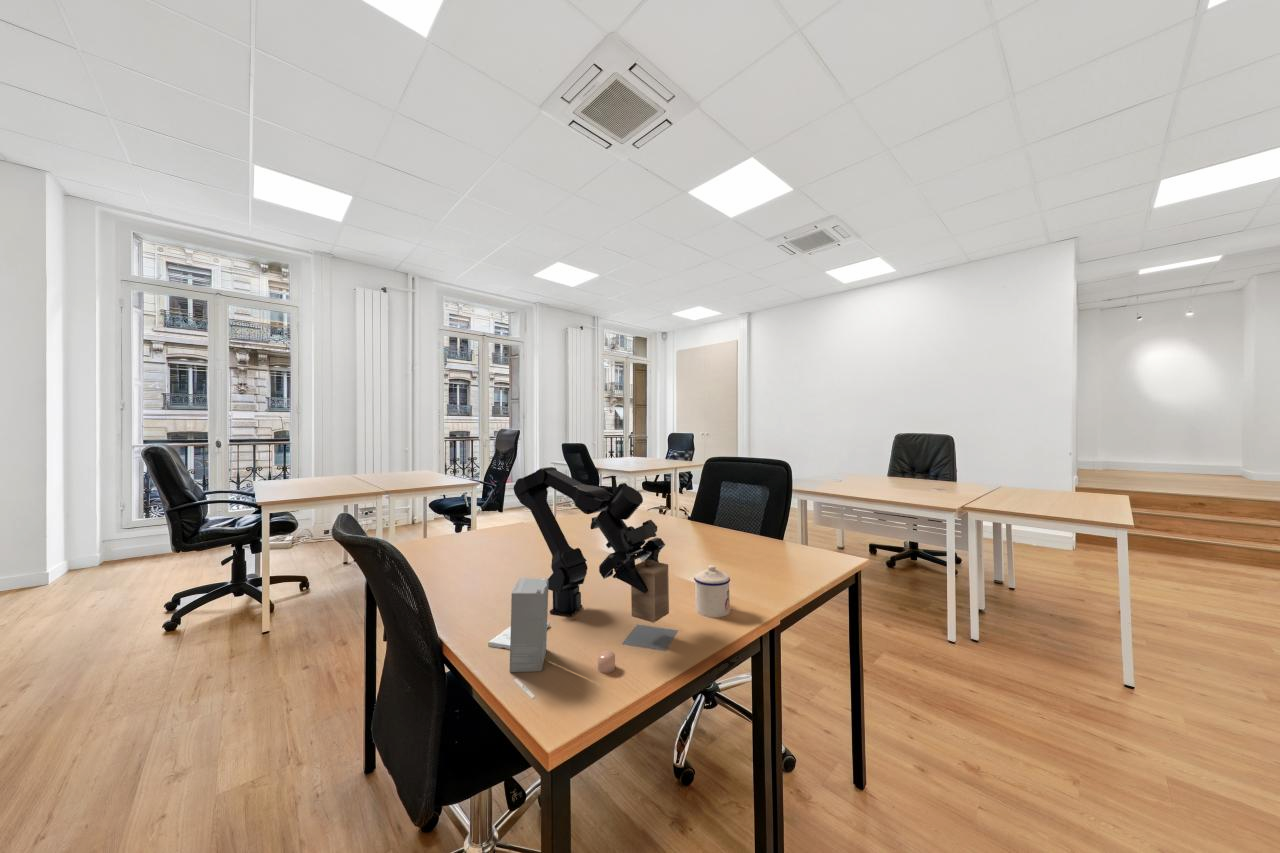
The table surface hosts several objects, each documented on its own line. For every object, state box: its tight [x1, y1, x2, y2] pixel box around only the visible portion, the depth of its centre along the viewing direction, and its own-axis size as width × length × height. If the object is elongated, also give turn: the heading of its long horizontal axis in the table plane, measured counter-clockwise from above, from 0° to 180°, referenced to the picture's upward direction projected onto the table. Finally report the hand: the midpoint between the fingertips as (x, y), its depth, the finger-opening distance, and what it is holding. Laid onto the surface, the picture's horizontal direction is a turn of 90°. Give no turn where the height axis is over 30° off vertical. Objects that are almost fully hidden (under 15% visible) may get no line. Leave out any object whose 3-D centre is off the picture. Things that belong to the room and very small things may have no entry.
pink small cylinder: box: [597, 650, 616, 674], centre depth 84 cm, size 3×3×3 cm
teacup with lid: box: [693, 564, 731, 619], centre depth 112 cm, size 12×9×12 cm
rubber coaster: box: [621, 623, 679, 652], centre depth 97 cm, size 10×10×1 cm
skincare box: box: [509, 577, 549, 673], centre depth 88 cm, size 8×7×16 cm
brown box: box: [630, 560, 670, 624], centre depth 97 cm, size 6×6×12 cm
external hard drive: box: [487, 621, 551, 651], centre depth 100 cm, size 2×8×12 cm
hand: (655, 587), depth 96 cm, fingers closed on brown box, 6 cm apart
